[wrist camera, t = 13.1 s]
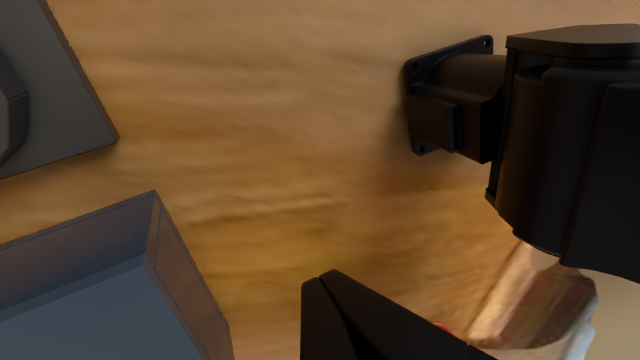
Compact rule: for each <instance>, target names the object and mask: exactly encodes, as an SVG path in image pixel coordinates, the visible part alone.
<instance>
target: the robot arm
mask: <svg viewBox="0 0 640 360" xmlns="http://www.w3.org/2000/svg"><path fill="white" fill-rule="evenodd" d="M484 42H486V43H485V45H484ZM505 48H508V49H507V56H504V55H493V38H492V36H490V35H482V36H478V37H475V38H472V39H469V40H466V41H463V42H460V43H457V44H454V45H451V46H448V47H445V48H442V49H439V50H436V51H433V52H430V53H427V54H424V55H421V56H417V57H414V58H411V59H409V60H407V61H406V63H405V65H404V76H405V86H406V95H407V96H406V108H407V118H408V127H409V133H410V134H411V143H412V150H413V152H414V153H415V154H416V155H419V156H422V155H425V154H427V153H430V152H432V151H435V150H437V149H440V148H441V149H443V150H445V151H447V152H450V153H454V152H456V153H458V154H460V155H463V156H465V157H467V158H469V159H472V160H474V161H476V162H478V163H480V164H485V163H487V162H489V161H490V162H492V163H491V170H490V177H489V184H488V188H486V192H485V198H486V199H487V200H488V202H489V203H490V204H491V205H492V206H493V207H494V208H495V209H496V210H497V211H498V214H499V215H500V216H501V217H502V218H503V219H504V220H505V221H506V222H507V223H508V224H509V225H510V226H511V227H512V228H513V231H512V232H513V234H514V235H515V236H516V237H517V238H518V239H520V240H522V241H524V242H526V243H527V244H529V245H531V246H533V247H534V248H536V249H538V250H540V251H542V252H545V253H547V254H550V255H553V256H556V257H559V258H560V259H559V263H560V264H561V265H563V266H565V267H572V268H581V269H589V270H595V271H599V272H603V273H607V274H611V275H615V276H619V277H622V278H624V279H627V280H630V281H634V282H636V283H639V284H640V25H638V24H603V25H579V26H571V27H564V28H557V29H550V30H543V31H536V32H529V33H522V34H515V35H508V36H507V40H506V47H505ZM413 64H414V69H413V71H411V66H412V65H413ZM420 146H421V149H420V150H419V147H420ZM300 360H498V359H496V358H494V357H492V356H490V355H488V354H487V353H485V352H483V351H481V350H479V349H478V348H476V347H474V346H472V345H468V347H467V343H466V342H465V341H463V340H461V339H460V338H458V337H456V336H454V335H452V334H451V333H449V332H447V331H445V330H443V329H442V328H440V327H438V326H436V325H434V324H433V323H431V322H429V321H427V320H425V319H424V318H422V317H420V316H418V315H417V314H415V313H413V312H411V311H409V310H408V309H406V308H404V307H402V306H400V305H399V304H397V303H395V302H393V301H391V300H390V299H388V298H386V297H384V296H382V295H381V294H379V293H377V292H375V291H374V290H372V289H370V288H368V287H366V286H365V285H363V284H361V283H359V282H357V281H356V280H354V279H352V278H350V277H348V276H347V275H345V274H343V273H341V272H339V271H338V270H336V269H332V270H330V271H328V272H325V273H323V274H321V275H320V276H319V278H318V277H314V278H312V279H310V280H308V281H306V282H304V283H303V284H302V287H301V339H300Z"/></svg>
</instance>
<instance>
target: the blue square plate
mask: <svg viewBox="0 0 640 360" xmlns="http://www.w3.org/2000/svg"><path fill="white" fill-rule="evenodd" d="M0 360H210V359H209V358H208V356H207V355H206V353H205V351H204V350H203V348H202V347H201V345H200V343H199V342H198V340H197V339H196V337H195V335H194V334H193V332H192V331H191V329H190V327H189V326H188V324H187V323H186V321H185V319H184V318H183V316H182V315H181V313H180V311H179V310H178V308H177V306H176V305H175V303H174V302H173V300H172V298H171V297H170V295H169V294H168V292H167V290H166V289H165V287H164V286H163V284H162V282H161V281H160V279H159V278H158V276H157V274H156V273H155V271H154V270H153V268H152V266H151V265H150V263H149V261H148V260H147V258H146V257H145V256H143V257H140V258H138V259H135V260H133V261H130V262H128V263H125V264H123V265H120V266H118V267H115V268H113V269H110V270H107V271H105V272H102V273H100V274H97V275H95V276H92V277H90V278H87V279H85V280H82V281H80V282H77V283H74V284H72V285H69V286H67V287H64V288H62V289H59V290H57V291H54V292H52V293H49V294H47V295H44V296H41V297H39V298H36V299H34V300H31V301H29V302H26V303H24V304H21V305H19V306H16V307H14V308H11V309H9V310H6V311H3V312H1V313H0Z"/></svg>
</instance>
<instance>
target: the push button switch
mask: <svg viewBox="0 0 640 360" xmlns="http://www.w3.org/2000/svg"><path fill="white" fill-rule="evenodd" d="M118 139H119V135H118V133H117V131H116V129H115V127H114V125H113V124H112V122H111V120H110V118H109V116H108V114H107V113H106V111H105V109H104V107H103V105H102V103H101V102H100V100H99V98H98V96H97V94H96V93H95V91H94V89H93V87H92V85H91V83H90V82H89V80H88V78H87V76H86V74H85V72H84V71H83V69H82V67H81V65H80V63H79V62H78V60H77V58H76V56H75V54H74V52H73V51H72V49H71V47H70V45H69V43H68V41H67V40H66V38H65V36H64V34H63V32H62V31H61V29H60V27H59V25H58V23H57V21H56V20H55V18H54V16H53V14H52V12H51V10H50V9H49V7H48V5H47V3H46V1H45V0H0V180H1V179H4V178H7V177H10V176H14V175H17V174H20V173H23V172H26V171H29V170H32V169H35V168H39V167H42V166H45V165H48V164H51V163H54V162H57V161H60V160H64V159H67V158H70V157H73V156H76V155H79V154H82V153H85V152H89V151H92V150H95V149H98V148H101V147H104V146H107V145H110V144H114V143H116V142H117V141H118Z"/></svg>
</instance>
